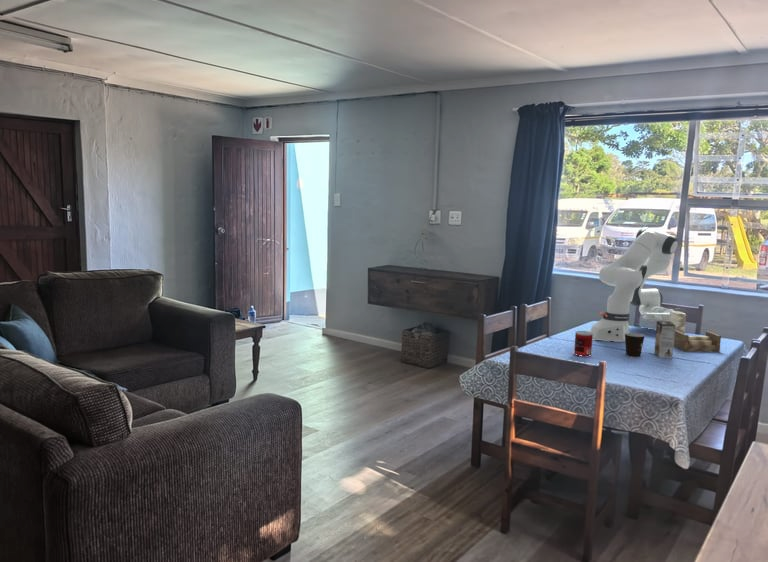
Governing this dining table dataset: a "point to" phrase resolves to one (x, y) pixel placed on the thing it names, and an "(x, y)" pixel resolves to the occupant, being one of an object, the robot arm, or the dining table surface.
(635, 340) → the brown paper cup
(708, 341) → the front plywood offcut
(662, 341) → the coffee box
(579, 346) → the canned food
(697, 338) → the back plywood offcut
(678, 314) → the pale wood block
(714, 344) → the walnut rack
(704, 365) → the dining table surface
